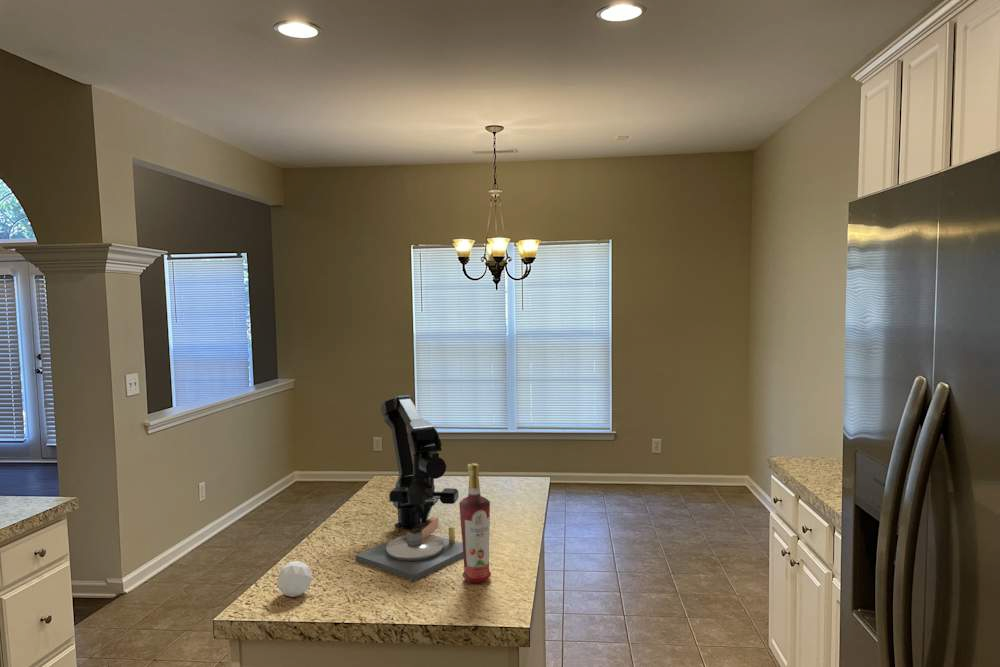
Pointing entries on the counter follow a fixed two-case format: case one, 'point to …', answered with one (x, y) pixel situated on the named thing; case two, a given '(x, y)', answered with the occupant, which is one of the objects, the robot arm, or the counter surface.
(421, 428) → the robot arm
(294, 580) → the ball
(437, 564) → the post plate
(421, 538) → the grey disc with handle
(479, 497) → the liquor
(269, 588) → the counter surface
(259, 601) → the counter surface
